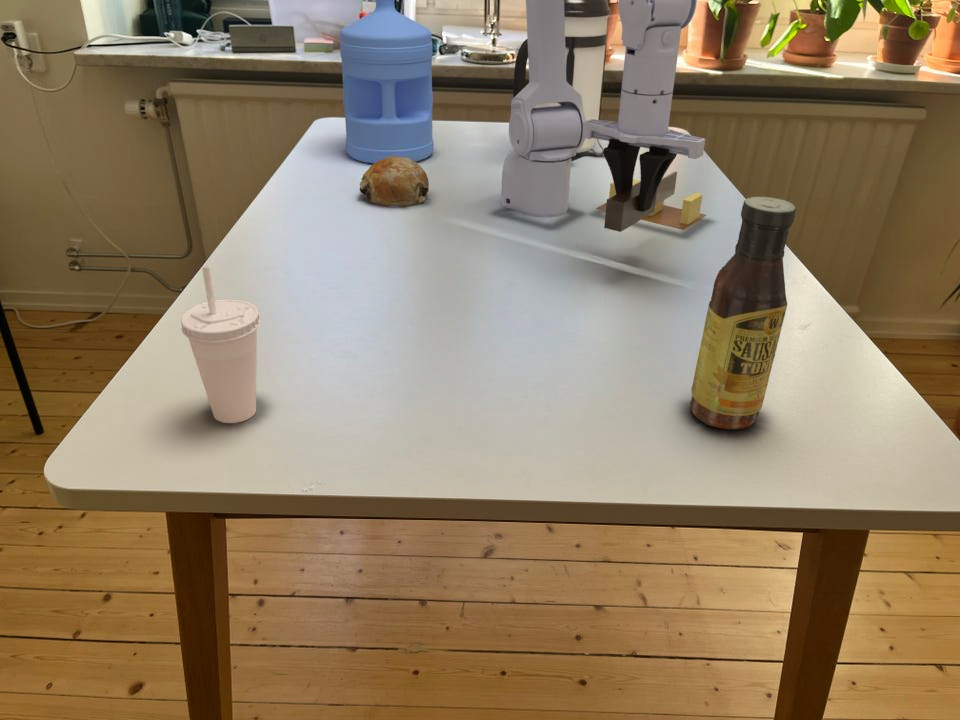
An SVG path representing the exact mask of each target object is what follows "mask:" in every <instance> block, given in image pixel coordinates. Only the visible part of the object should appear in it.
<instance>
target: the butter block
mask: <svg viewBox="0 0 960 720" xmlns="http://www.w3.org/2000/svg"><path fill="white" fill-rule="evenodd" d="M640 181H641V180H637V179H633V185H635V184H637V183H639V182H640ZM609 185H610V186H609V195H608V199H609V198H611V197H612V196H614V195H616V191H615V186H614V181H613V182H611V183H610V184H609ZM633 185H632V186H633ZM664 203H665V200H663V201H662V202H660V203H658V204H657V205H655V210H654V212H653V213H651V214H649V215H648V216H652V215H654V214H656V213H658V212H659V211H661V210H663V205H665V204H664Z"/></svg>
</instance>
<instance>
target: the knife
mask: <svg viewBox="0 0 960 720" xmlns="http://www.w3.org/2000/svg"><path fill="white" fill-rule="evenodd" d="M677 177H678V171H673V172H672V173H669V174H668V175H665V176H663V178H662V180H661V182H660V184H659V186H658V188H657V190H656V193H655V195H654V198H653V201H652V204H651V208H650V209H648V210H646V211H644V212H641V211H638V200H639V193H640V185H641V180H639V181H640V182H639V183H637V184H635V185H633V186H631V187H629V188H627V189H625V190H624V191H622V192H620V193H618V194H616V195H614V196H612V197H611V198H609V197H608V198H607V199H606V203H607V204H606V211H605V214H604V215H605V216H604V225H603V228H604V229H607V230H611V231H616V232H619V233H622V232H623V231H625V230H627V229H628V228H630V227H632V226H633V225H635V224H636V223H638V222H640V221H642V220H641V219H643V218H645V217H646V216H648V215H649V214H651V213H653V212H654V210H655V205H657V204H658V203H660V202H662V201H663V200H664V201H665V200H666V199H668V198H670V197H672V196H673V195H675V191H676V184H677Z"/></svg>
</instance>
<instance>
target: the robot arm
mask: <svg viewBox="0 0 960 720" xmlns="http://www.w3.org/2000/svg"><path fill="white" fill-rule="evenodd" d="M697 1H698V0H618V15H619V20H620V22H621V41H622V46H623V47H625V51H624V61H623V71H622V81H621V91H620V99H619V100H620V101H619V110H618V120H617V121H615V120H614V121H613V120H603V119H602V120H601V119H600V120H599V119H598V120H595V119H590V120H587V121H586V117H585V114H584V110H583V104H582V96H581V94H580V93H579V92H578V91H576V90H575V89H574V88H573V87H572V86H571V85H569V84H568V83H567V81H566V52H565V18H564V0H525V15H526V36H527V38H526V39H527V40H528V60H527V63H528V84H526V85H525V88H524V89H522V90H521V91H520V92H519V93H518V94H517V95H516V96H515V97H514V98H513V97H512V99H511V102H510V119H509V122H508V137H509V142H510V144H511V147H512V150H511V151H510V152H509V153H508V154H507V155H506V157H505V159H504V162H503V165H502V170H501V194H500V195H501V196H500V197H501V198H500V206H501V207H503V208H506V209H510V210H514V211H518V212H520V213H523V214H524V215H528V216H531V217H537V218H539V217H540V218H553V217H559V216H562V215H565V214H566V213H568V207H569V195H570V194H569V193H570V181H571V169H572V168H571V167H572V157H577V153H576V152H577V149H579V148H580V147H581V146H582V145H583V143H584V141H585V138H586V139H591V138H595V139H596V140H597V139H598V140H599V141H600V140H601V141H607V142H608V144H607V146H606V147H604V148H603V158H605V160H606V163H607V165H608V169H609V170H610V174H611V176H612V180H613V182H614V186H615V191H616V194H618V193H620V192H622V191H624V190H625V189H627V188H629V187H631V186H632V185H633V180H634V176H635V169H636V165H637V160H638V159H639V167H640V181H641V185H640V193H639V200H638V211H641V212H644V211H646V210H648V209H650V208H651V204H652V201H653V198H654V195H655V193H656V190H657V188H658V186H659V184H660V182H661V180H662V178H664V177H665V174H666V173H667V171H668V169H669V168H670V167H671V165H672V163H673V162H674V161H675V159H676V157H677V155H681V156H685V157H686V156H687V158H688V159H693V160H698V159H699V158H701V157H702V156H704V151H705V143H706V138H703V137H698V136H694V135H691V134H687V133H684V132H681V131H677V130H674V129H671V128H669V125H670V118H671V109H672V101H673V94H674V88H675V87H674V86H675V79H676V71H677V64H678V56H679V50H680V49H679V48H680V40H681V34H682V30H683V29H684V28H686V27H687V26H688V25H689V24H691V21H692V19H693V18H694V15H695V13H696V9H697ZM545 103H558V104H560V105H561V106H554V107H541V108H533V107H534V106H536V105H538V104H545ZM641 148H644V149H648V151H645V152H643V153H641V154H639V153H640V151H641Z"/></svg>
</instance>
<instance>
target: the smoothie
mask: <svg viewBox="0 0 960 720" xmlns="http://www.w3.org/2000/svg"><path fill="white" fill-rule="evenodd" d="M202 275H203V281H204V288H205V293H206V300H207V301H205V302H202V303H198V304H196V305H194V306H192V307H190V308H188V309H187V310H186V311H185V312H184V313H183V314H182V316H181V317H180V323H181V331H182V334H183V335H184V336H185V337H186V338H188V341H189V345H190V348H191V351H192V355H193V357H194V360H195V364H196V366H197V369H198V372H199V375H200V379H201V381H202V385H203V388H204V391H205V394H206V397H207V400H208V403H209V407H210V409H211V413H212V415H213V418H214V419H215V420H216V421H218V422H220V423H223V424H237V423H242V422H245V421H248V420H249V419H251V418H252V417H253V416H254V415H255V414H256V412H257V364H258V363H257V362H258V361H257V359H258V357H257V351H258V348H257V347H258V345H257V344H258V329H259V327H260V325H261V322H262V321H261V317H260V312H259V309H258V307H257V306H256V305H255V304H253V303H251V302H248V301H245V300H241V299H231V298H230V299H229V298H225V299H215V295H214V288H213V287H214V286H213V282H212V275H211V268H210V266H209V265H203V266H202Z"/></svg>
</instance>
